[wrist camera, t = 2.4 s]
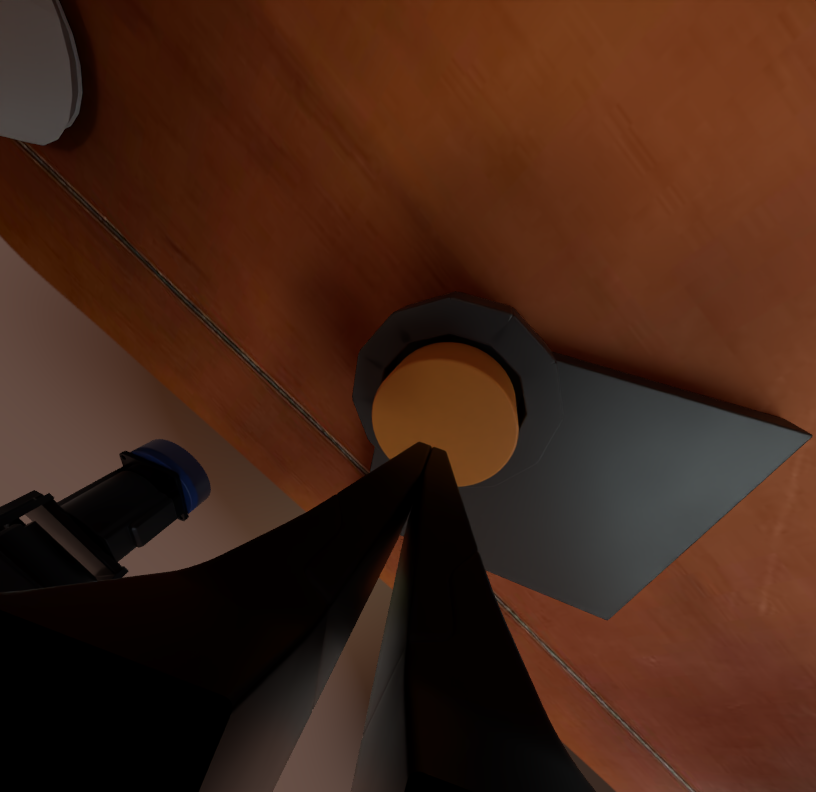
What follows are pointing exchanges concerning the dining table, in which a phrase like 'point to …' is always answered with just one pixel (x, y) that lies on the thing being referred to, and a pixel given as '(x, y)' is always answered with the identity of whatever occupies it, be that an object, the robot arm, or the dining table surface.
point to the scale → (585, 457)
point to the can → (37, 71)
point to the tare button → (449, 409)
